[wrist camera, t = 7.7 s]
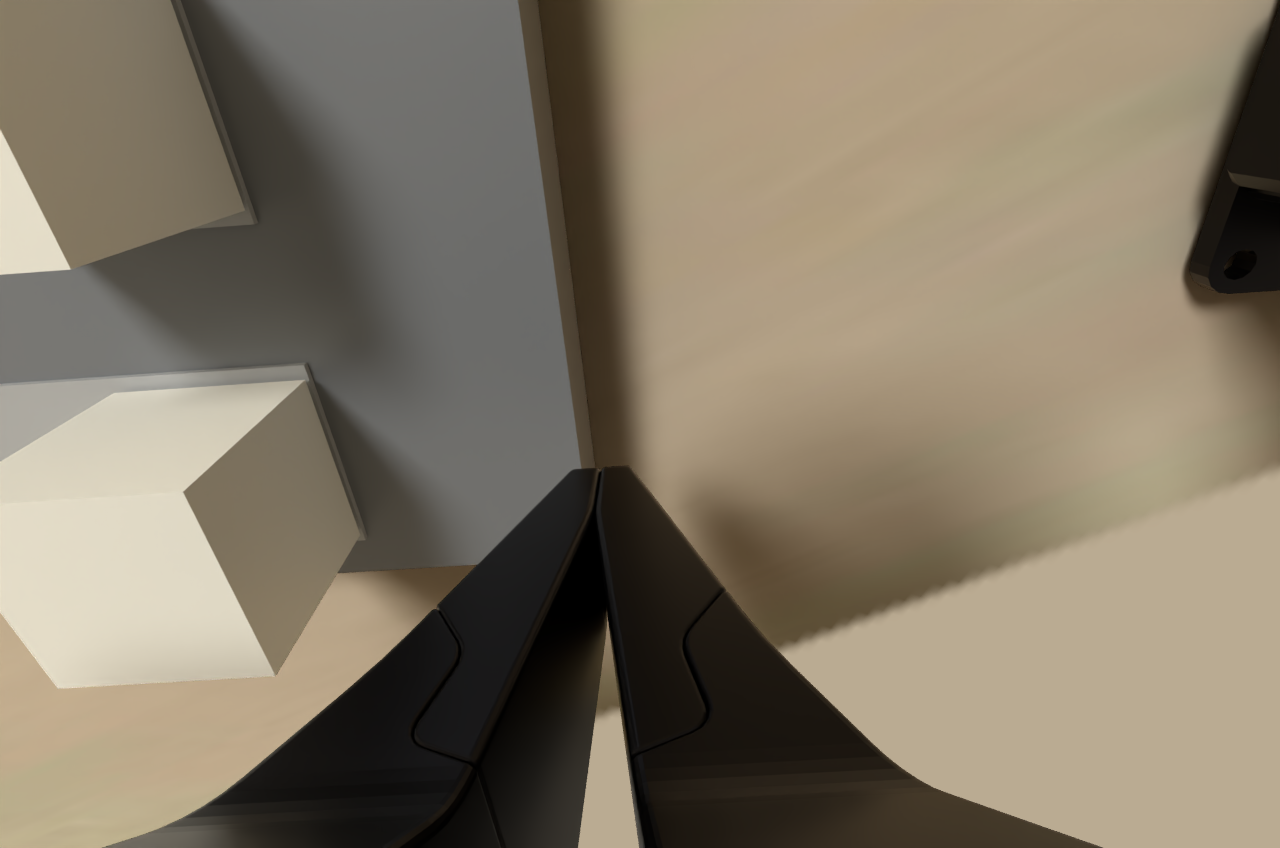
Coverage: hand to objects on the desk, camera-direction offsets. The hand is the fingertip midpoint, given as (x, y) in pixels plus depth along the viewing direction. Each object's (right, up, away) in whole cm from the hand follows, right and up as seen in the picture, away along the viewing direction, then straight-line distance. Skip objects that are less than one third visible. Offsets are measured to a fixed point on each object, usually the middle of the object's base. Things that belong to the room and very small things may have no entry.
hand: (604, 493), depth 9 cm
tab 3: (-6, 0, +1) cm, 6 cm away
